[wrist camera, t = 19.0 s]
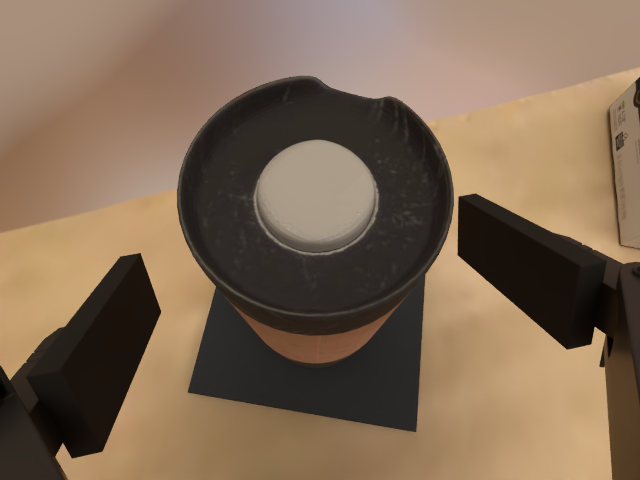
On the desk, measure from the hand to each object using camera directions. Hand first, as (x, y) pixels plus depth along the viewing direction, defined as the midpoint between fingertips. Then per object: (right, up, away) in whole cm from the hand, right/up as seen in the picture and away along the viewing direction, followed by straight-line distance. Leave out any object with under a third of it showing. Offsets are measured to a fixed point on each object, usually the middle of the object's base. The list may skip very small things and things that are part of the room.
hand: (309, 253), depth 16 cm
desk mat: (0, -6, +13) cm, 15 cm away
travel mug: (0, -5, +13) cm, 14 cm away
